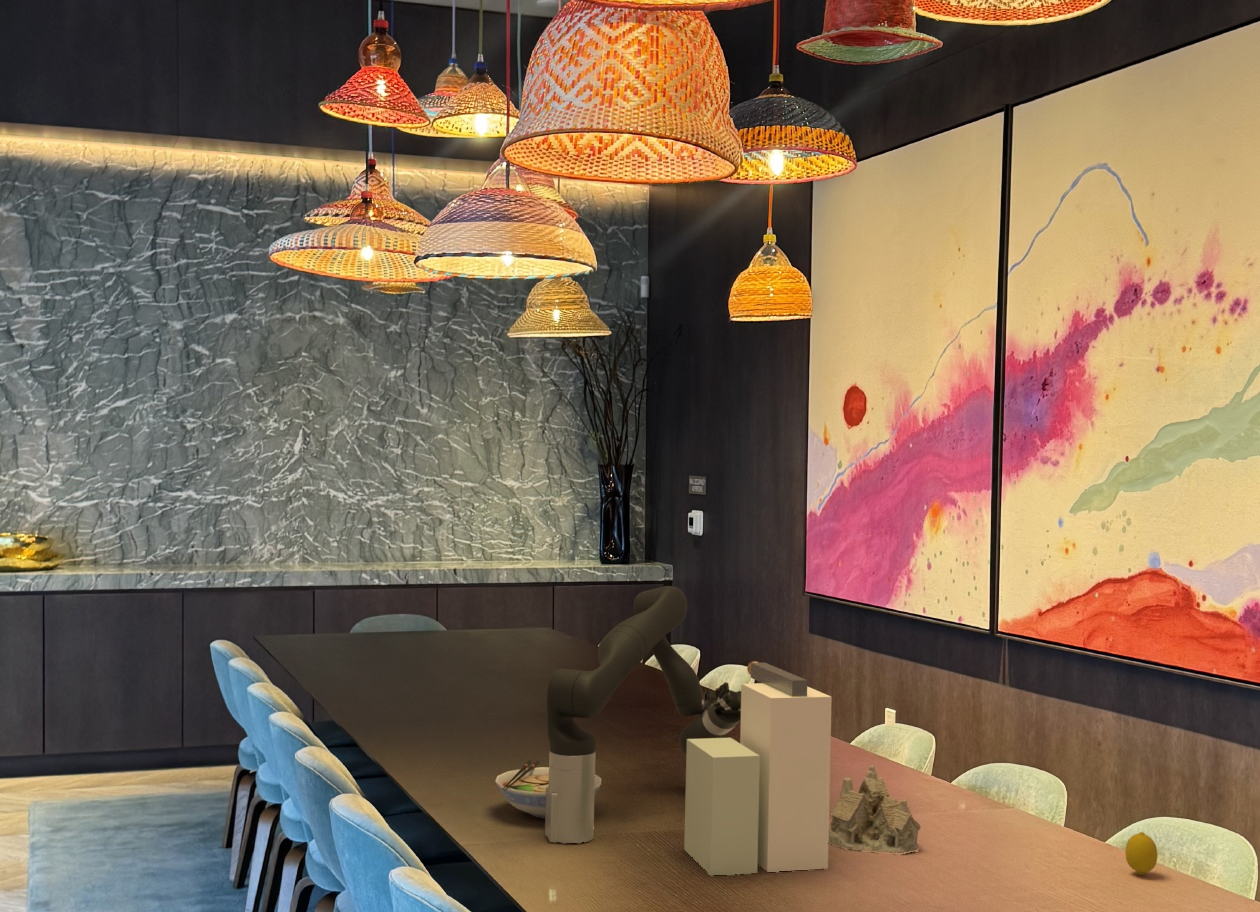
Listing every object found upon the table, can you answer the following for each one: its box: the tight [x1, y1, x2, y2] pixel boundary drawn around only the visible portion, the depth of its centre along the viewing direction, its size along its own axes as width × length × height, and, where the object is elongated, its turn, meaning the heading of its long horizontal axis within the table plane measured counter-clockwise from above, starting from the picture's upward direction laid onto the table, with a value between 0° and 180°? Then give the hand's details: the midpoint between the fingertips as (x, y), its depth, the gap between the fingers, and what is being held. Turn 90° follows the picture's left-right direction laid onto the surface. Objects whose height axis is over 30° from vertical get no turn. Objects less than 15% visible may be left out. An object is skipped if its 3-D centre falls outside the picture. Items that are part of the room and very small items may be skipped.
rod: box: [746, 660, 808, 697], centre depth 242 cm, size 3×24×3 cm, turn 15°
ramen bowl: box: [494, 759, 602, 819], centre depth 264 cm, size 25×23×8 cm
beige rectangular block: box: [683, 737, 760, 877], centre depth 234 cm, size 9×16×22 cm, turn 15°
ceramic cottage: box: [829, 765, 921, 853], centre depth 247 cm, size 16×16×15 cm
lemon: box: [1125, 831, 1158, 876], centre depth 232 cm, size 6×6×8 cm
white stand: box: [739, 682, 833, 873], centre depth 237 cm, size 12×16×32 cm
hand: (746, 686), depth 258 cm, fingers open, 8 cm apart
